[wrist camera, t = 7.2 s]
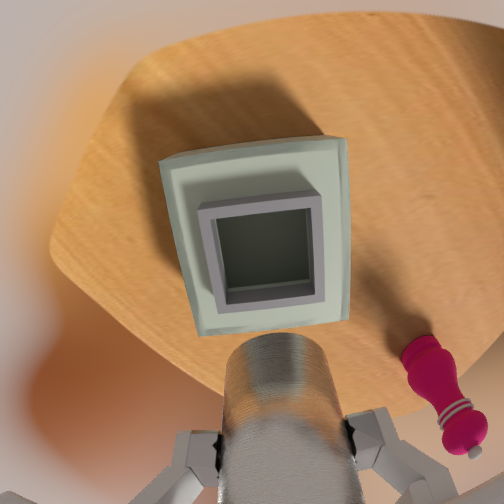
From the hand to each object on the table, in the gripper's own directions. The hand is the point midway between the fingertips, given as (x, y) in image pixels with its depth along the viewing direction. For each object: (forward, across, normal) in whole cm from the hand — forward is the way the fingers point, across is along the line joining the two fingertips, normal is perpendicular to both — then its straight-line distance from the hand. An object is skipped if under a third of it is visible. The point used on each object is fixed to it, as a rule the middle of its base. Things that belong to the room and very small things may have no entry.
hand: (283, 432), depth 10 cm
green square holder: (+23, 0, 0) cm, 23 cm away
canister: (+3, 0, 0) cm, 3 cm away
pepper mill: (+23, -21, +22) cm, 38 cm away
